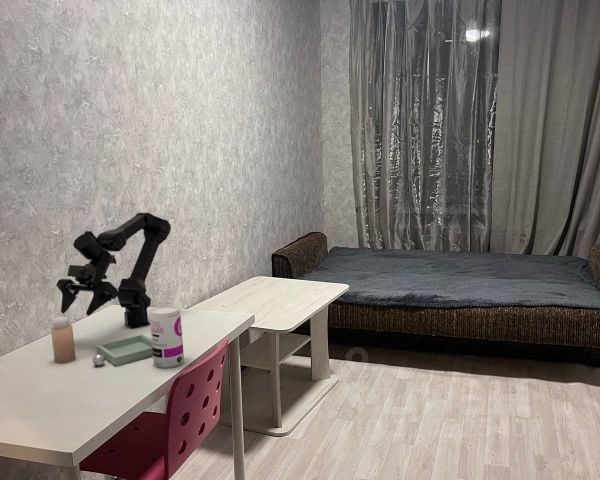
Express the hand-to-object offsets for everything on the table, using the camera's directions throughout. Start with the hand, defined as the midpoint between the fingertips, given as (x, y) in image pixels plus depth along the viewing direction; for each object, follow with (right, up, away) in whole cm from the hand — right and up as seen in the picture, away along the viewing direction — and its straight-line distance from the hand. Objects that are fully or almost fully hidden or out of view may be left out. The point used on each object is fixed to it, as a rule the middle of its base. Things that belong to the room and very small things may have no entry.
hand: (74, 313), depth 175 cm
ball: (+10, -12, -9) cm, 18 cm away
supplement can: (+29, -13, -9) cm, 33 cm away
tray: (+16, -11, 0) cm, 20 cm away
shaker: (-2, -13, -3) cm, 13 cm away
